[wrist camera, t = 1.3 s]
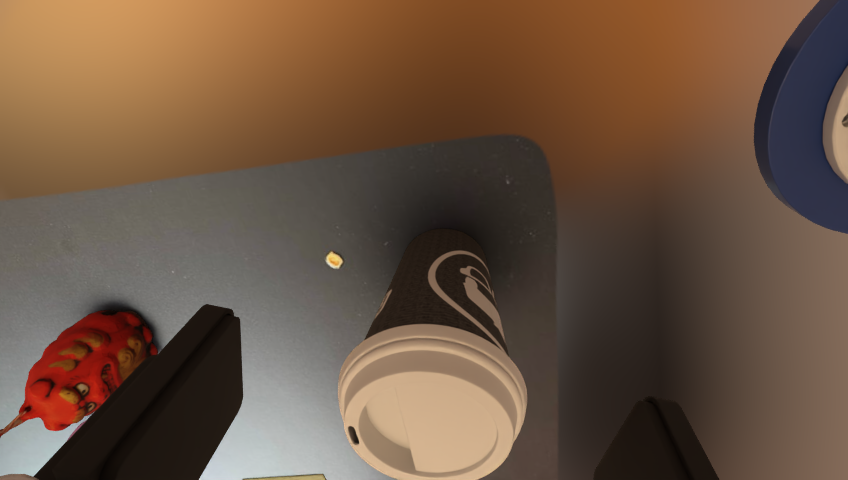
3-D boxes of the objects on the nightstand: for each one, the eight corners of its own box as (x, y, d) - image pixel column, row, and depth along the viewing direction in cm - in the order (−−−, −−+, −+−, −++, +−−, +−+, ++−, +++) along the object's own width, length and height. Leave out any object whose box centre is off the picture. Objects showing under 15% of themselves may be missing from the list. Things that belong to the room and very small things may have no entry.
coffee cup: (396, 194, 30) (341, 332, 17) (525, 227, 31) (566, 388, 18) (373, 298, 35) (315, 471, 22) (485, 326, 35) (494, 513, 22)
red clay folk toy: (171, 367, 41) (31, 533, 28) (104, 361, 42) (-65, 521, 29) (148, 303, 38) (-25, 459, 24) (74, 298, 38) (-134, 448, 25)
